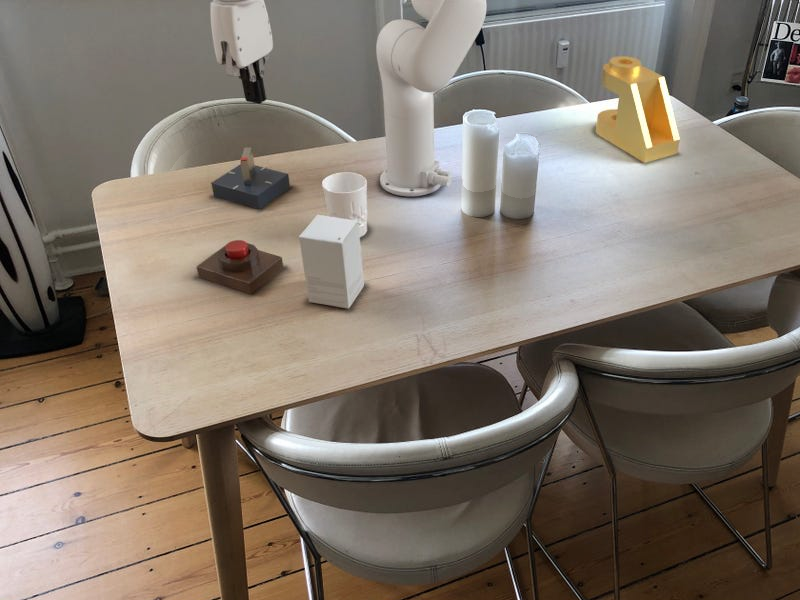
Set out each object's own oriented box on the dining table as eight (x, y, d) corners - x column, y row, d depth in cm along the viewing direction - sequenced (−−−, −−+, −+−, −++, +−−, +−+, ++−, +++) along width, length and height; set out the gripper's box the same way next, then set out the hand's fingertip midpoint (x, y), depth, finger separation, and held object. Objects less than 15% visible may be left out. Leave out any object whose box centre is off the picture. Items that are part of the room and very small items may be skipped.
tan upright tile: (248, 170, 165) (244, 146, 162) (255, 170, 165) (251, 146, 162) (244, 185, 160) (239, 160, 157) (251, 185, 161) (247, 160, 157)
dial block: (290, 187, 167) (288, 172, 165) (259, 209, 159) (256, 194, 157) (246, 175, 170) (243, 161, 168) (213, 196, 163) (210, 182, 161)
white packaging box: (365, 285, 140) (360, 219, 132) (348, 310, 135) (341, 243, 127) (325, 278, 142) (317, 212, 134) (306, 302, 136) (297, 236, 128)
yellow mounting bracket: (587, 128, 191) (595, 58, 181) (619, 120, 195) (628, 51, 184) (644, 163, 178) (656, 90, 168) (676, 153, 182) (690, 81, 171)
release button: (253, 251, 141) (251, 243, 140) (240, 262, 139) (238, 253, 138) (236, 246, 142) (234, 238, 141) (222, 256, 140) (220, 248, 139)
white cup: (349, 216, 158) (345, 167, 152) (379, 230, 154) (375, 181, 148) (318, 232, 153) (312, 183, 147) (348, 247, 150) (343, 197, 143)
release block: (283, 267, 144) (280, 247, 142) (251, 294, 138) (247, 274, 135) (232, 251, 148) (228, 232, 145) (198, 277, 141) (194, 257, 139)
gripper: (244, -28, 137) (263, 81, 149) (185, -1, 126) (211, 114, 138) (282, -22, 135) (298, 88, 146) (225, 5, 124) (248, 121, 136)
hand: (256, 100), depth 142 cm, fingers closed
